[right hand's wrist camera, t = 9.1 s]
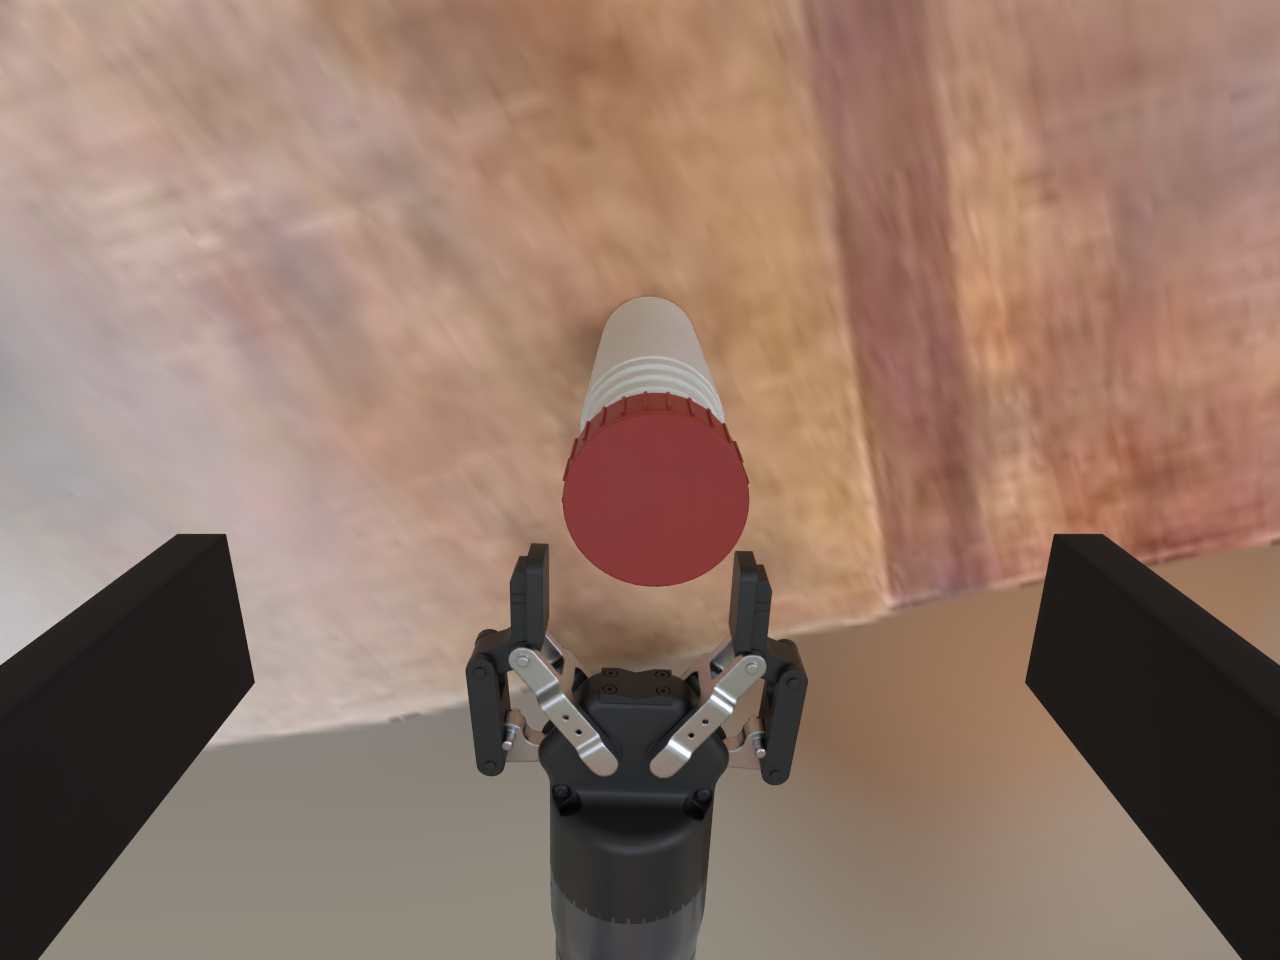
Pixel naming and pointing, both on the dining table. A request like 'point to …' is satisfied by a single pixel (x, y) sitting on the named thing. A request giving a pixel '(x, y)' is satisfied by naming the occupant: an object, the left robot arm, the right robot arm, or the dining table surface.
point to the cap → (655, 490)
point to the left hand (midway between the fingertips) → (641, 554)
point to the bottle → (649, 358)
